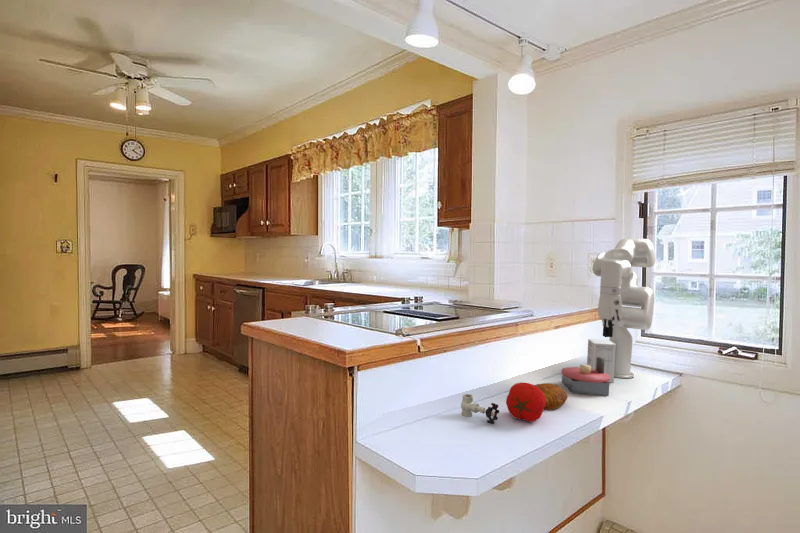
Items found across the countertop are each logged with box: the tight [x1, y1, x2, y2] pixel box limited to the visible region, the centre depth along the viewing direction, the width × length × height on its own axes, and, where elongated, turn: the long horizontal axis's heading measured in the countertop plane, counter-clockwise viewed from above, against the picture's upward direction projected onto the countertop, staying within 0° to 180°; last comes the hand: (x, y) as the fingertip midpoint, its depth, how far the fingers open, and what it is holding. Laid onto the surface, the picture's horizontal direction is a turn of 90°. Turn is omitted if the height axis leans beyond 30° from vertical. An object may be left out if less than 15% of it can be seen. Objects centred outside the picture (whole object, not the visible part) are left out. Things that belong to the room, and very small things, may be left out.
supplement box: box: [586, 338, 616, 384], centre depth 198 cm, size 10×9×17 cm
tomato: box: [505, 382, 546, 423], centre depth 147 cm, size 13×13×13 cm
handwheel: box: [561, 357, 610, 383], centre depth 182 cm, size 18×18×7 cm
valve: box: [460, 393, 500, 425], centre depth 145 cm, size 7×7×12 cm
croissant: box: [533, 382, 568, 410], centre depth 164 cm, size 14×16×8 cm
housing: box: [561, 374, 610, 397], centre depth 182 cm, size 14×14×5 cm
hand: (607, 336), depth 181 cm, fingers closed
